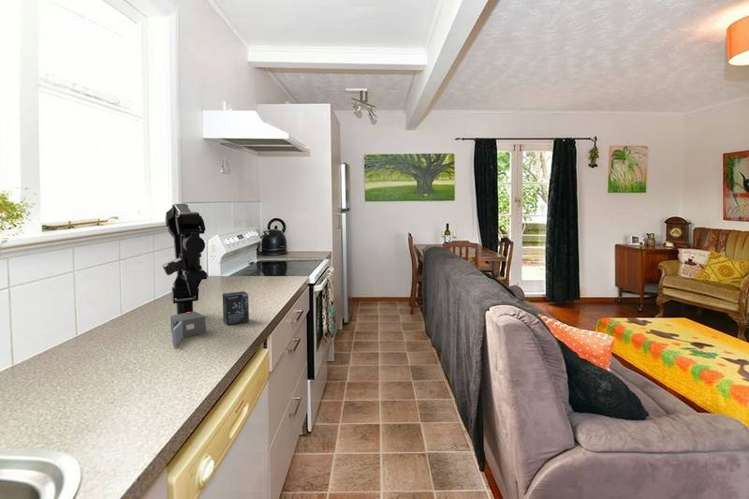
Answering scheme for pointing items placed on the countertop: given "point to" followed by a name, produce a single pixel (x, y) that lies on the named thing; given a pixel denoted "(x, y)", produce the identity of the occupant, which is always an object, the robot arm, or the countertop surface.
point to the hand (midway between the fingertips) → (192, 296)
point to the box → (235, 308)
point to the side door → (177, 333)
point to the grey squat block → (190, 323)
